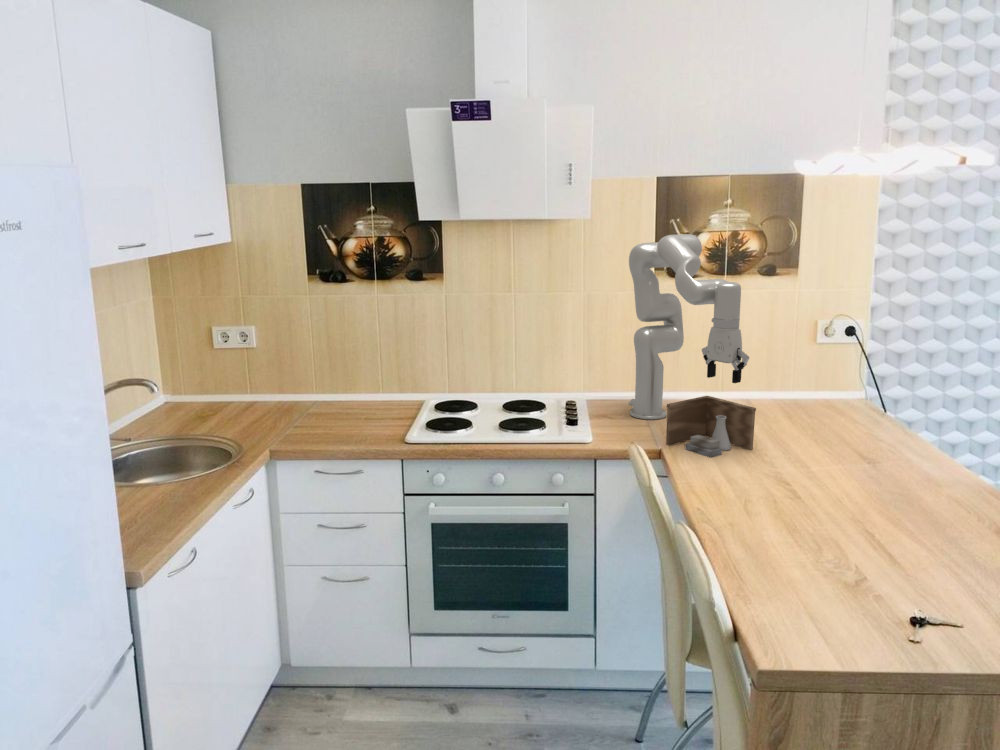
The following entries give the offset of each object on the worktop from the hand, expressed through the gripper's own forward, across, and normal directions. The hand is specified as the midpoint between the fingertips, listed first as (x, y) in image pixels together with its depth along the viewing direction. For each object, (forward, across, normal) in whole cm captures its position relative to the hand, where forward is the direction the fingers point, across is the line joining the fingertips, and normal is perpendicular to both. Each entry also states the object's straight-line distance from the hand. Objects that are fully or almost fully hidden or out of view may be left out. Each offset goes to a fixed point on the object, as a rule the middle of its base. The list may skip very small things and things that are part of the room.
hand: (723, 379), depth 259 cm
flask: (+22, 0, 0) cm, 22 cm away
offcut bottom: (+22, 0, -7) cm, 23 cm away
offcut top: (+20, 0, -7) cm, 21 cm away
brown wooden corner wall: (+22, -2, -2) cm, 22 cm away
